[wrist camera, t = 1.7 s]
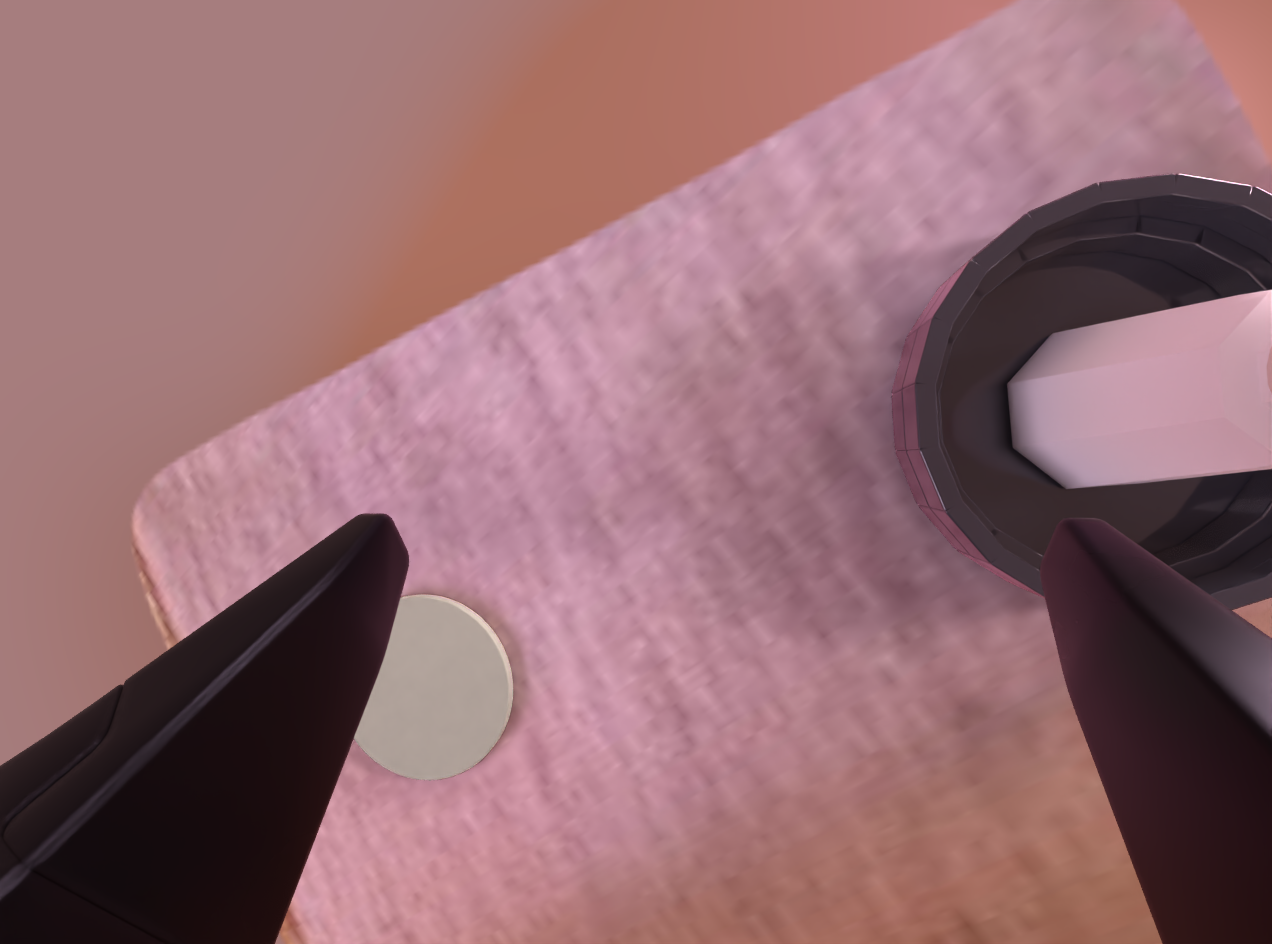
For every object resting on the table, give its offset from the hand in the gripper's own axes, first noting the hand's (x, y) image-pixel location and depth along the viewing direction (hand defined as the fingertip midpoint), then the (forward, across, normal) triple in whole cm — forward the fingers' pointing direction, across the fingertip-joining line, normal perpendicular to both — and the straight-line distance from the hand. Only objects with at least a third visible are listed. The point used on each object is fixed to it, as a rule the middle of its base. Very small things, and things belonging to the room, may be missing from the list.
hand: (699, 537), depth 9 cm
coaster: (+6, +11, +15) cm, 20 cm away
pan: (+13, -12, +7) cm, 19 cm away
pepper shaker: (+13, -12, +7) cm, 19 cm away
